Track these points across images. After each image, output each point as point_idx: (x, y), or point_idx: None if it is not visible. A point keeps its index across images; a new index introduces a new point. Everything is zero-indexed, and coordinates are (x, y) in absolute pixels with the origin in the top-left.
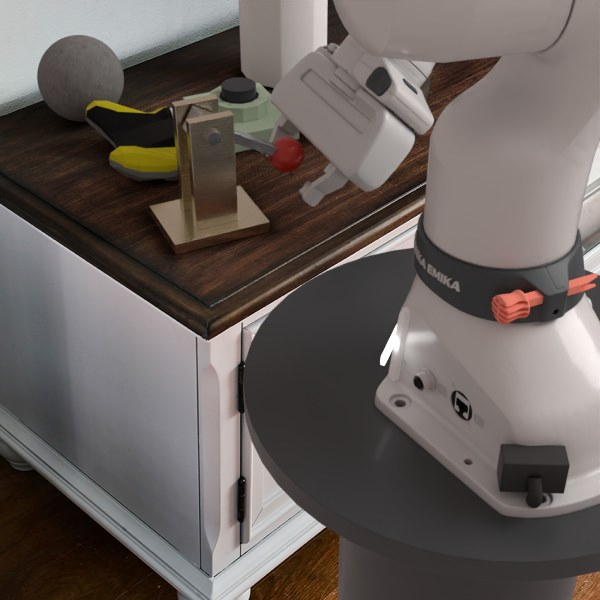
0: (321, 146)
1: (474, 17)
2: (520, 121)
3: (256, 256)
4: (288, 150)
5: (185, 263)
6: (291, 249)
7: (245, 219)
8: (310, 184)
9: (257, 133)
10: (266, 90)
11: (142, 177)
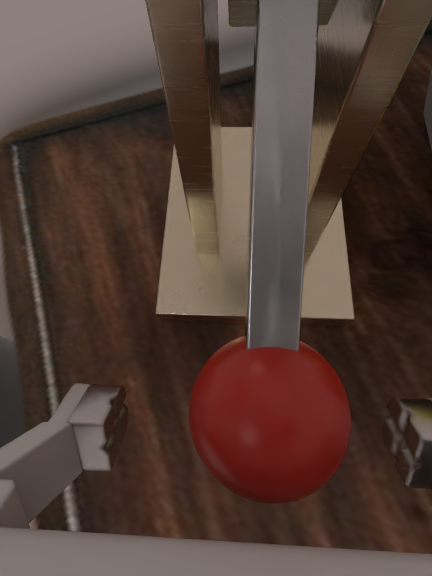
0: (54, 551)
1: None
2: None
3: (94, 259)
4: (208, 388)
5: (146, 149)
6: (74, 333)
7: (191, 267)
8: (72, 417)
9: None
10: None
11: (424, 112)
